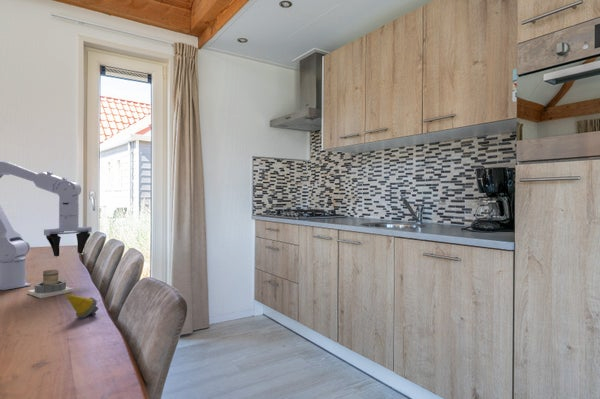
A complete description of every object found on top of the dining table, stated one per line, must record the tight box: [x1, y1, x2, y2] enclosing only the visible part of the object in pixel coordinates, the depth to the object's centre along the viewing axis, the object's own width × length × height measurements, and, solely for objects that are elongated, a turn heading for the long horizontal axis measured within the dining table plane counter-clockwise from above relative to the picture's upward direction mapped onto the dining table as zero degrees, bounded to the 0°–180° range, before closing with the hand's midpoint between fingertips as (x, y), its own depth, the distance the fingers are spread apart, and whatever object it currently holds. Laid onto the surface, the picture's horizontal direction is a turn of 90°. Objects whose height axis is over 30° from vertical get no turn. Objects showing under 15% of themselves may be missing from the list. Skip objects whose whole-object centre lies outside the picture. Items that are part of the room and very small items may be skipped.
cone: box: [64, 293, 99, 319], centre depth 91 cm, size 5×5×10 cm
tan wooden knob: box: [42, 269, 59, 286], centre depth 114 cm, size 4×4×6 cm
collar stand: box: [27, 279, 74, 299], centre depth 114 cm, size 9×9×3 cm
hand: (68, 254), depth 125 cm, fingers open, 7 cm apart
